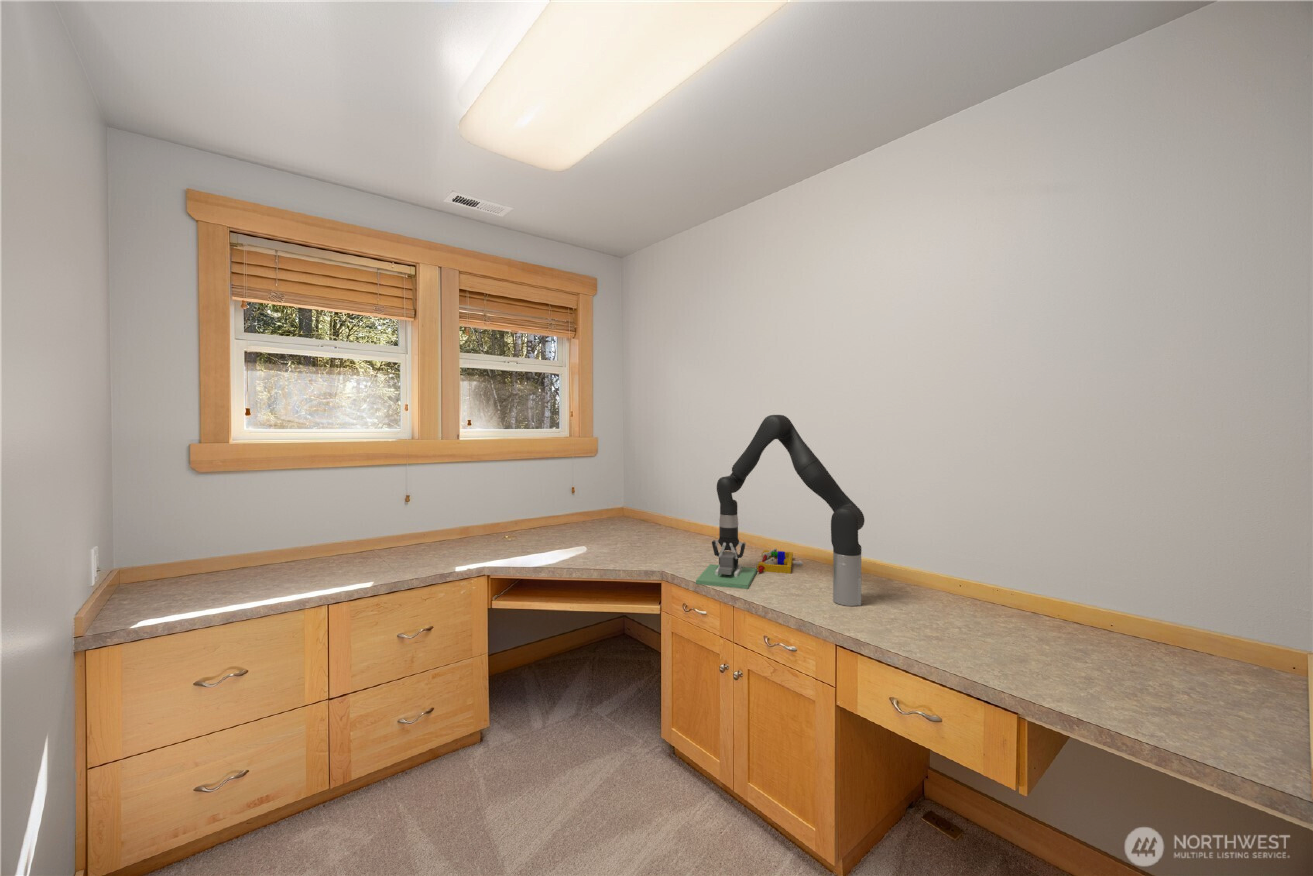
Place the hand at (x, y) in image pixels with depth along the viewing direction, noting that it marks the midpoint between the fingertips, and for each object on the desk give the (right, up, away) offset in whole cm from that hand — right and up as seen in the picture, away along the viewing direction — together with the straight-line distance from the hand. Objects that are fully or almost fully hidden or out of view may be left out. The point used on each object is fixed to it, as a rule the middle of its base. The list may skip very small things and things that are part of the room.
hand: (728, 566), depth 215 cm
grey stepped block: (0, -1, -1) cm, 2 cm away
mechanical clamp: (+25, -4, +16) cm, 30 cm away
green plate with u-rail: (-1, -4, -2) cm, 4 cm away
